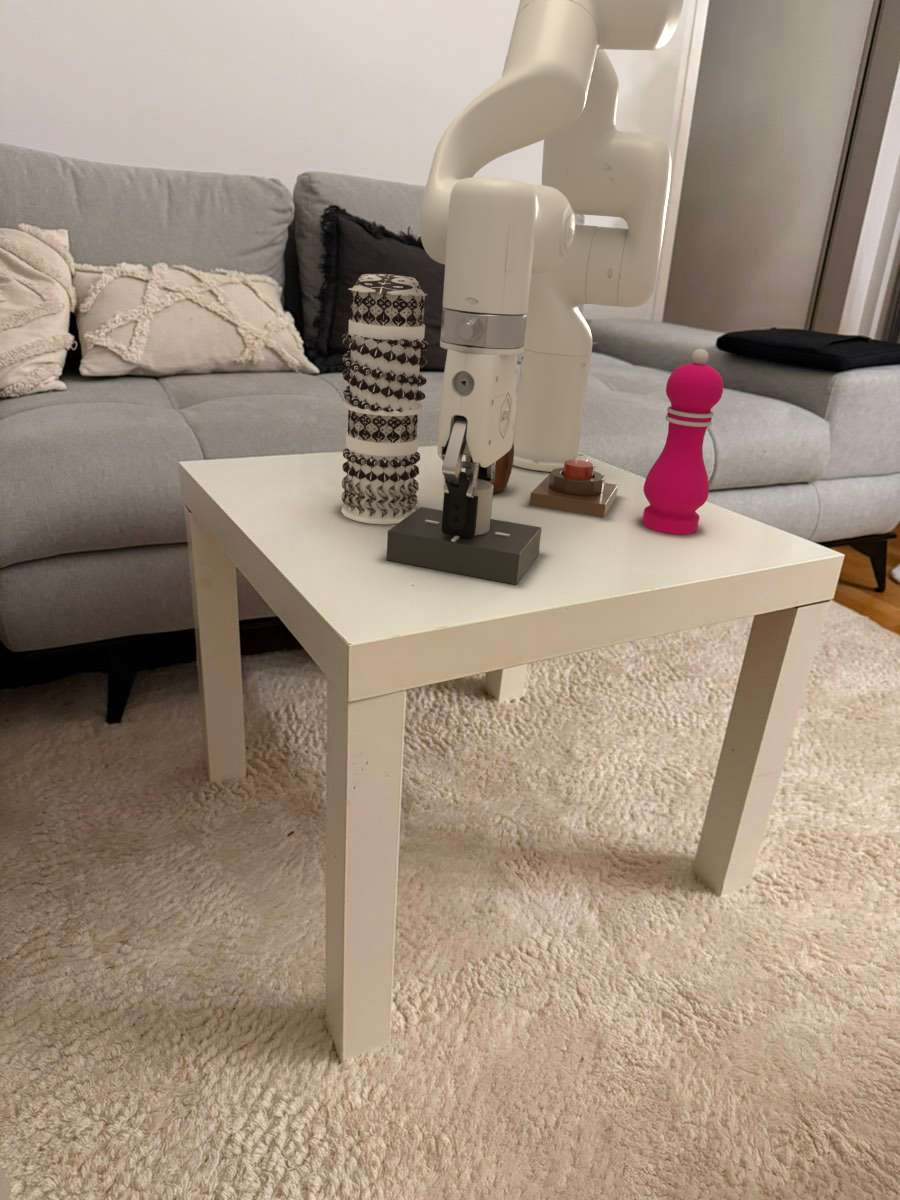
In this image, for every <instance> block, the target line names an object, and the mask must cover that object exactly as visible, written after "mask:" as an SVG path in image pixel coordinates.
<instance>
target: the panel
mask: <svg viewBox="0 0 900 1200" xmlns="http://www.w3.org/2000/svg"><path fill="white" fill-rule="evenodd" d="M442 515H443V509H442V510H441V509H436V508H432V507H431V508H430V507H425V506H420V507H418V508H417V509H416V511H414V512H413V513H412V514H410V515H409V516H408V517H406V518H405V519H403V520H402V521H401V522H399V523H396V524H395V525H394V526H392V527H391V528H390V529H388V530H387V541H386V561H389V562H396V563H401V564H406V565H410V566H417V567H421V568H428V569H432V570H437V571H442V572H447V573H454V574H457V575H464V576H470V577H474V578H479V579H483V580H484V579H485V580H490V581H495V582H501V583H506V584H510V585H517V584H518V583H519V581H520V580H521V579H522V577H524V575H525V574H526V572H527V571H528V570H529V568H530V567H531V565H532V564H533V563H534V562H535V560H536V559H537V558H538V556H539V553H540V546H541V537H542V527H540V526H537V525H536V526H535V525H530V524H523V523H517V522H511V521H507V520H500V519H494V518H491V519H490V528H489V531H488V532H487V533H485V534H482V535H474V536H473V537H472V538H467V537H461V536H456V535H450V534H445V533H443V532H442Z"/></svg>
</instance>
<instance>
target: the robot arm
mask: <svg viewBox="0 0 900 1200" xmlns="http://www.w3.org/2000/svg"><path fill="white" fill-rule="evenodd" d="M683 4H684V0H519V4H518V8H517V11H516V16H515V20H514V24H513V28H512V33H511V35H510V36H511V37H510V40H509V45H508V48H507V53H506V56H505V61H504V65H503V69H502V74H501V77H500V78H499V79H498V80H497V81H495V82H494V83H492V84H491V85H489V86H488V87H487V88H486V89H485V90H484V91H482V92H481V93H480V94H479V95H477V96H476V97H475V98H474V99H473V100H471V102H470V103H468V104H467V106H466V107H465V108H463V110H462V111H461V112H459V114H458V115H457V116H456V117H455V118H454V119H453V120H452V121H451V123H450V124H449V125H448V126H447V128H446V129H445V130H444V132H443V134H442V136H441V137H440V139H439V141H438V142H437V145H436V148H435V151H434V154H433V158H432V162H431V167H430V170H429V173H428V177H427V181H426V185H425V187H424V192H423V197H422V203H421V208H420V209H421V210H420V214H419V235H420V240H421V243H422V247H423V249H424V251H425V253H426V254H427V255H428V256H429V258H430V259H431V260H433V261H434V262H437V263H439V264H441V265H444V278H443V293H442V308H441V309H442V310H441V323H440V336H439V337H440V340H439V347H440V348H442V349H445V350H447V352H446V358H445V365H444V370H443V371H444V372H443V377H442V385H441V392H440V393H441V394H440V403H439V411H438V424H437V425H438V426H437V442H436V443H437V447H436V448H437V456H438V457H439V458H440V460H441V461H443V462H442V465H441V473H442V475H443V477H444V478H443V479H444V484H443V502H442V505H443V506H442V511H443V515H442V532H443V533H445V534H450V535H456V536H461V537H467V538H472V537H473V536H474V535H475V529H476V518H477V507H478V496H474V495H475V490H476V484H477V479H481V480H485V481H489V482H493V481H494V478H495V461H497V460H498V459H500V458H501V457H502V456H504V455H505V454H506V453H507V452H508V451H509V450H510V449H511V448H512V445H513V444H514V459H513V466H515V467H517V468H521V469H526V470H532V471H538V472H546V473H547V472H549V473H550V472H551V471H552V470H553V469H557V468H563V467H564V462H565V461H567V460H582V461H587V462H589V458H588V456H587V455H586V454H584V453H582V452H580V451H579V449H580V443H581V434H582V427H583V418H584V411H585V405H586V404H585V403H586V398H587V397H586V396H587V390H588V388H587V387H588V382H589V374H590V366H591V358H592V352H593V335H592V331H591V328H590V326H589V324H588V323H587V321H586V319H585V317H584V316H583V314H582V312H581V311H580V309H579V305H595V306H596V305H597V306H605V307H607V306H608V307H616V308H617V307H618V308H619V307H621V308H637V307H641V306H643V305H646V303H648V301H650V299H651V297H652V295H653V294H654V290H655V287H656V283H657V279H658V273H659V268H660V267H659V266H660V261H661V260H660V259H661V252H662V247H663V237H664V232H665V231H664V230H665V223H666V218H667V217H666V216H667V209H668V201H669V195H670V188H671V187H670V186H671V176H672V157H671V155H672V154H671V150H670V147H669V144H668V143H667V141H666V140H665V139H664V138H663V137H662V136H661V135H657V134H655V133H651V132H644V131H643V132H640V131H621V130H618V129H617V127H616V117H617V108H618V100H619V99H618V98H619V91H620V84H619V77H618V75H617V72H616V70H615V68H614V66H613V63H612V62H611V60H610V57H609V56H608V54H607V52H606V51H605V50H616V51H619V50H620V51H621V50H622V51H656V50H658V49H661V48H663V47H664V46H666V44H667V43H669V41H670V40H671V38H672V37H673V35H674V33H675V32H676V29H677V27H678V24H679V21H680V19H681V15H682V10H683V6H684V5H683ZM541 141H543V146H542V161H541V164H542V165H541V184H531V183H530V184H529V183H527V182H525V181H521V180H518V179H517V180H516V179H509V178H500V177H499V178H498V177H486V176H485V177H483V176H475V175H476V174H477V173H478V172H479V171H480V170H481V169H482V168H484V167H485V166H487V165H488V164H490V163H491V162H493V161H495V160H496V159H498V158H500V157H502V156H505V155H507V154H510V153H512V152H515V151H518V150H520V149H524V148H527V147H529V146H531V145H534V144H537V143H540V142H541ZM575 215H585V216H597V217H598V216H599V217H609V218H610V217H612V218H620V219H623V220H624V221H625V222H626V224H627V228H623V227H622V228H621V227H609V226H598V225H587V224H576V218H575V217H576V216H575ZM517 355H521V358H520V370H519V378H518V356H517ZM517 379H518V381H517ZM517 382H518V383H517ZM517 385H518V388H517ZM463 456H465V458H464V459H465V461H464V460H463ZM463 469H465V470H464V471H463ZM492 484H493V489H494V483H492ZM493 498H494V495H493V496H492V501H493ZM492 508H493V506H492V507H491V511H492V510H493V509H492ZM490 519H492V516H491V517H490Z"/></svg>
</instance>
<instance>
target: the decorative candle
mask: <svg viewBox="0 0 900 1200" xmlns="http://www.w3.org/2000/svg"><path fill="white" fill-rule="evenodd" d="M348 290H349V291H351V293H350V295H351V296H350V297H351V298H350V299H351V300H350V319H349V320H348V330H347V331H345V333H344V334H343V335H342V336H341V340H342V341H341V343H342V344H343V345H344V346H346V347H347V349H349V350H348V351H346V352H345V353H344V355H342V358H341V359H342V362H343V364H344V366H345V367H346V368H345V369H343V371H342V379H343V380H344V381H345V382H347V384H348V385H347V386H346V387H345V389H344V390H343V392H342V395H343V398H344V400H345V401H344V402H343V407H344V408H346V410H347V431H346V433H345V448H344V449H343V450H342V457H343V458H344V459H345V460H347V461H345V462H344V463H342V471H343V472H344V473H346V475H344V476H343V478H342V479H341V487H342V489H343V491H342V493H341V501H342V503H343V505H342V507H341V510H340V511H341V513H342V515H343V516H344V517H345V518H348V519H350V520H353V521H355V522H360V523H364V524H372V525H393V524H398V523H399V522H401V521H402V520H403V519H405V518H406V517H408V516H409V515H410V514H412V513H413V512H414V511H416V510H417V509H416V506H417V505H418V503H419V501H418V496H417V492H418V491H419V489H420V487H419V482H418V480H416V477H417V476H418V475H419V474H420V468H419V466H418V465H416V464H417V463H419V461H420V460H421V454H420V452H419V451H418V449H419V436H418V423H419V419H418V417H419V414H421V413H423V408H424V406H423V405H422V404H421V403H420V402H421V401H423V400H425V399H426V393H424V392H423V391H422V390H421V389H419V388H422V387H423V386H425V385H426V384H427V382H428V380H427V379H426V377H424V376H423V375H422V374H421V373H420V370H421V369H423V368H424V367H425V366H428V365H429V364H430V360H429V359H428V358H427V357H426V356H425V355H423V353H425V352H427V351H429V350H430V349H431V344H430V343H429V342H427V340H425V335H426V333H425V332H426V324H425V323H424V315H425V300H426V297H427V296H428V294H427V293H425V291H423V290H422V288H421V286H420V283H419V281H418V280H417V279H416V278H415V277H413V276H407V275H398V274H386V273H363V274H361V275H360V276H359V277H358V278H357V281H356V282H355V284H354V285H353V287H349V288H348ZM420 368H421V369H420Z"/></svg>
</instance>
